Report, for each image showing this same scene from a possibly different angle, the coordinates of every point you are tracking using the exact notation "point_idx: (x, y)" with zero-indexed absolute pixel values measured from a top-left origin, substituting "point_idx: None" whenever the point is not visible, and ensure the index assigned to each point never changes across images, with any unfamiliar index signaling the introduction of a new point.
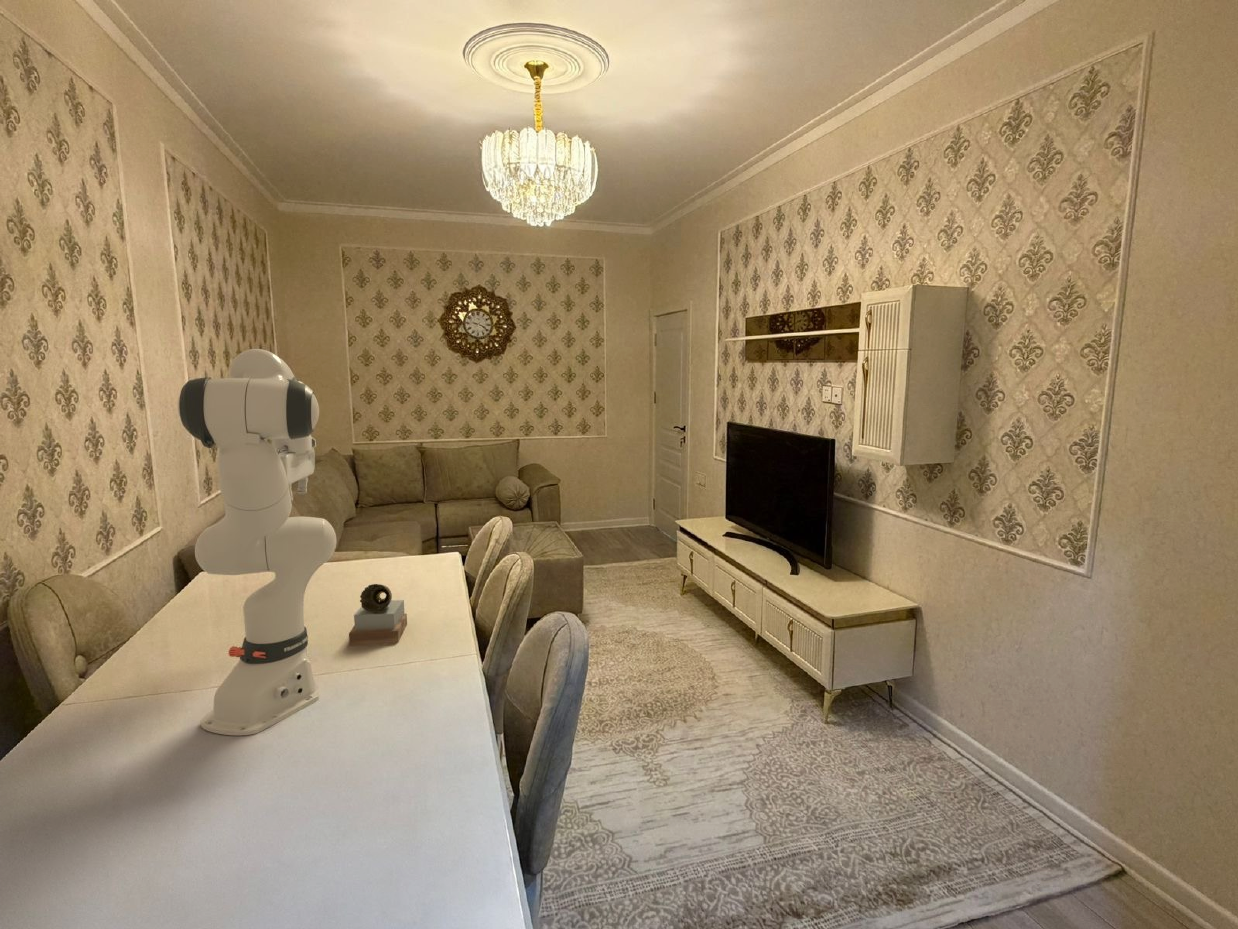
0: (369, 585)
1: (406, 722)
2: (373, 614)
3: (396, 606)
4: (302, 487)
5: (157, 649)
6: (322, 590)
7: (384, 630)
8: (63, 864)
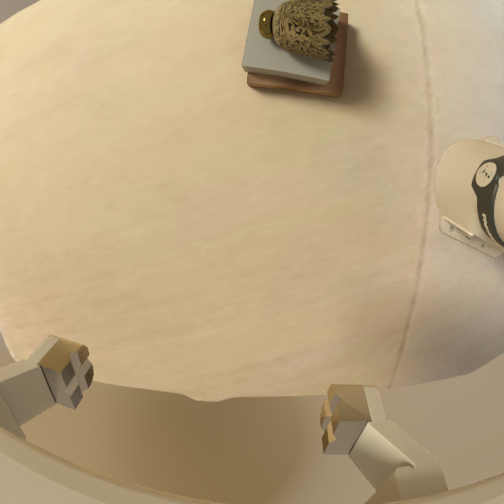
0: (330, 30)
1: None
2: (334, 43)
3: None
4: (59, 383)
5: (262, 371)
6: (50, 208)
7: (341, 34)
8: None
